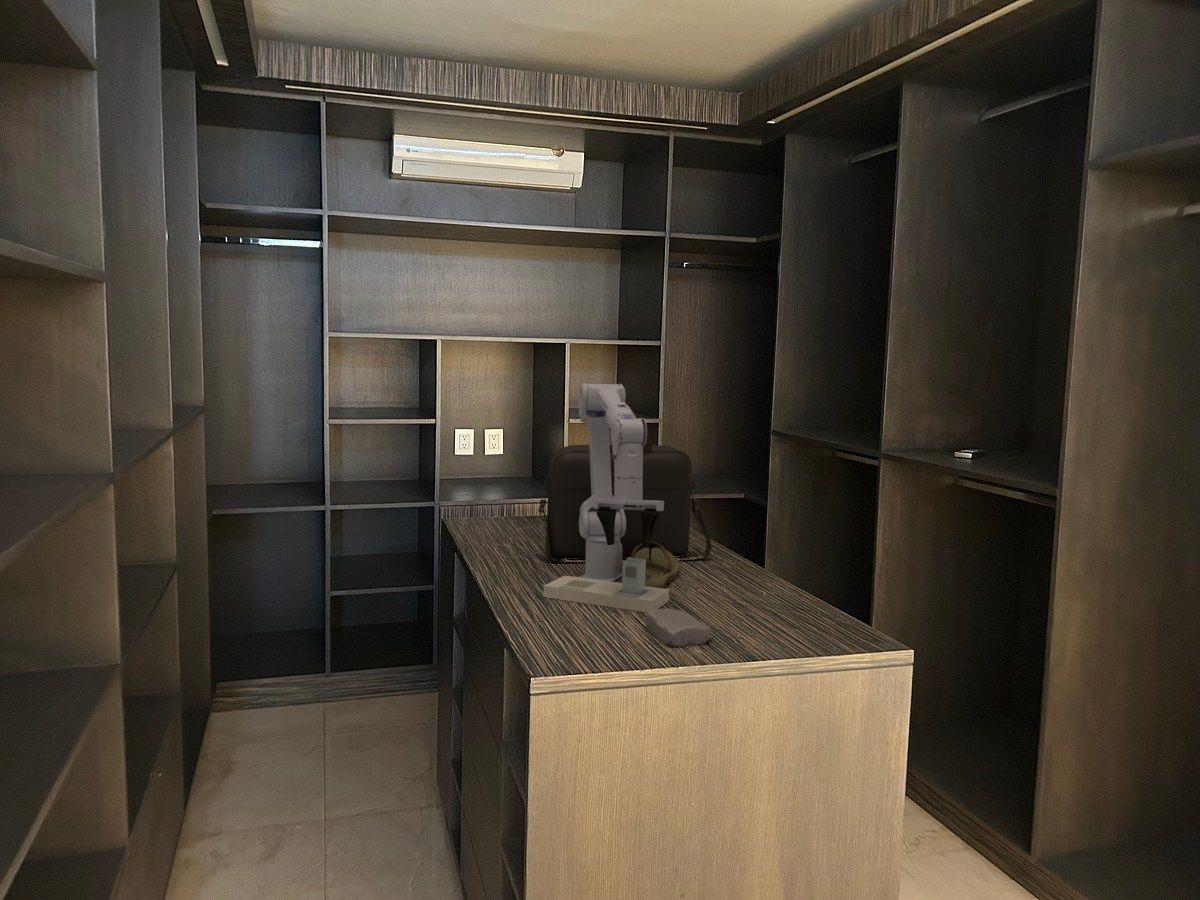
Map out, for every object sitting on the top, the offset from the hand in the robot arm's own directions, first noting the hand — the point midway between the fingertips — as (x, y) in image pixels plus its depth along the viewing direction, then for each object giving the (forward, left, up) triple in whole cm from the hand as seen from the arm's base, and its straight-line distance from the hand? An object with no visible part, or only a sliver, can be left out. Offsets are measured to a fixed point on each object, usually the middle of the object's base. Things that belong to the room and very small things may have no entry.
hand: (628, 545), depth 188 cm
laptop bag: (-41, -17, -13) cm, 47 cm away
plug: (-2, +1, -12) cm, 13 cm away
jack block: (-2, -5, -12) cm, 14 cm away
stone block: (+14, +16, -13) cm, 25 cm away
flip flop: (-23, -4, -13) cm, 27 cm away
